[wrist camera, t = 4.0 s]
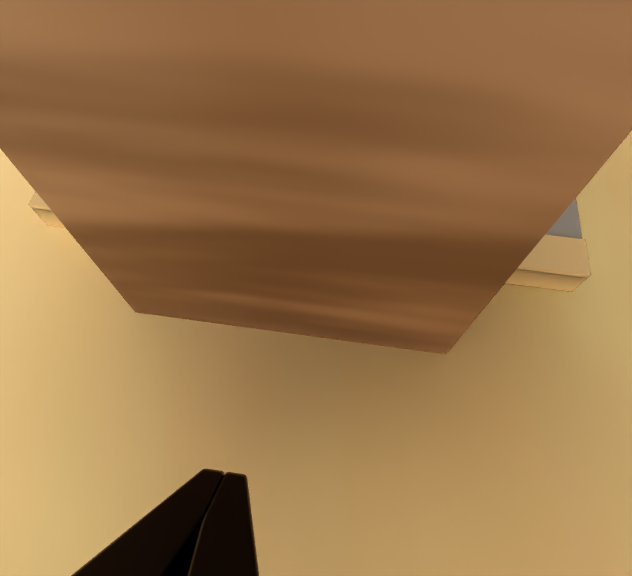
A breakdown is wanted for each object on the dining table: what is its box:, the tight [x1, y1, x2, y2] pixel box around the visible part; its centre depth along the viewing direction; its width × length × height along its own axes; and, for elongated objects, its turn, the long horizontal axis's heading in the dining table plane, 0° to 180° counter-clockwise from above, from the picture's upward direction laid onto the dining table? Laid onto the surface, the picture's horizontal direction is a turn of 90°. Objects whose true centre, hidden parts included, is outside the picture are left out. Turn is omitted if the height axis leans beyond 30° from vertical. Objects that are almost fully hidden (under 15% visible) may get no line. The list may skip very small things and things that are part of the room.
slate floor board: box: [28, 191, 591, 292], centre depth 22 cm, size 18×22×1 cm
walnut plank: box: [0, 0, 632, 354], centre depth 12 cm, size 3×12×14 cm, turn 82°
